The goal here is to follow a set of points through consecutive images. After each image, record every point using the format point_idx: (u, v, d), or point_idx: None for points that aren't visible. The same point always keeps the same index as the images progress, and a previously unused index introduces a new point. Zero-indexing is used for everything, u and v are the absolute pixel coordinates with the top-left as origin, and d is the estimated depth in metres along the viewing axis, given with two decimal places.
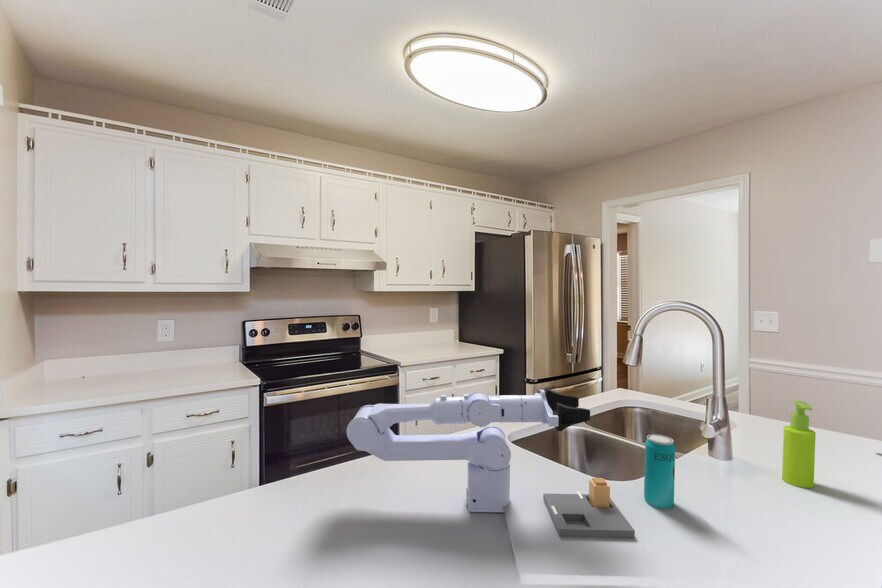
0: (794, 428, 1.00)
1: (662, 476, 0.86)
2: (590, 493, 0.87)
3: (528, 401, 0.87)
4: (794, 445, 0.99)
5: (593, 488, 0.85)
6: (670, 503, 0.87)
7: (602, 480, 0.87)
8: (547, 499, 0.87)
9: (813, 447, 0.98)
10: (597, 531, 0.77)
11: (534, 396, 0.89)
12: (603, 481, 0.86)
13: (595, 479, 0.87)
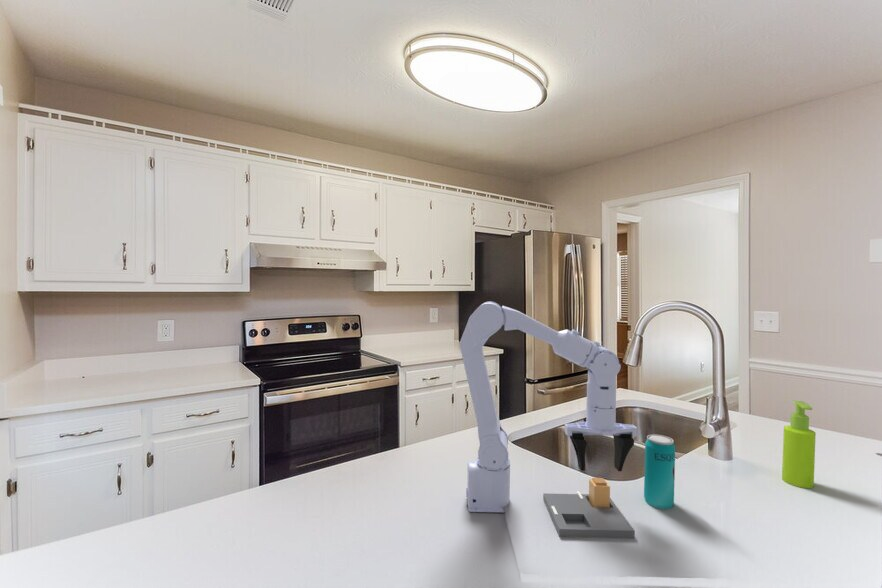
0: (794, 428, 1.00)
1: (662, 476, 0.86)
2: (590, 493, 0.87)
3: (595, 414, 0.84)
4: (794, 445, 0.99)
5: (593, 488, 0.85)
6: (670, 503, 0.87)
7: (602, 480, 0.87)
8: (547, 499, 0.87)
9: (813, 447, 0.98)
10: (597, 531, 0.77)
11: (604, 423, 0.83)
12: (603, 481, 0.86)
13: (595, 479, 0.87)
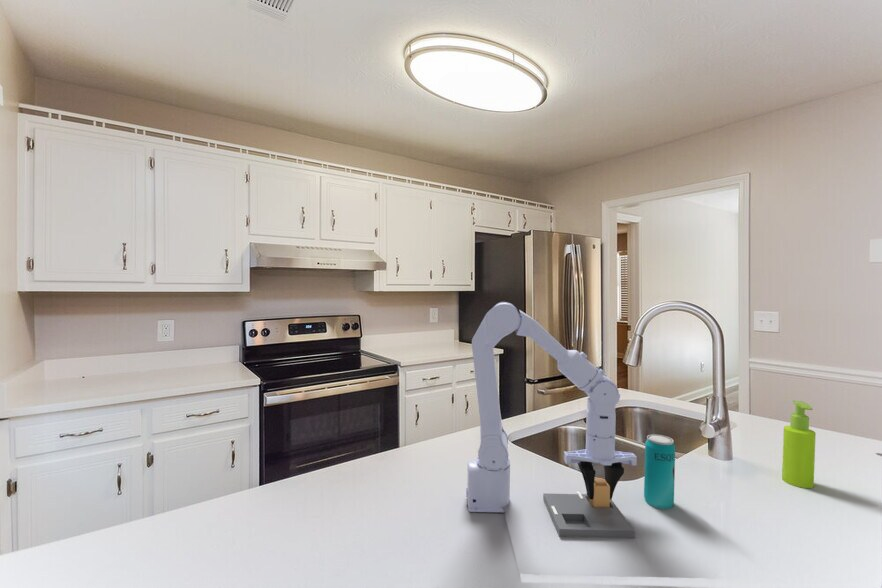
0: (794, 428, 1.00)
1: (662, 476, 0.86)
2: None
3: (595, 443, 0.84)
4: (794, 445, 0.99)
5: None
6: (670, 503, 0.87)
7: (602, 480, 0.87)
8: (547, 499, 0.87)
9: (813, 447, 0.98)
10: (597, 531, 0.77)
11: (603, 452, 0.83)
12: (603, 481, 0.86)
13: (595, 479, 0.87)
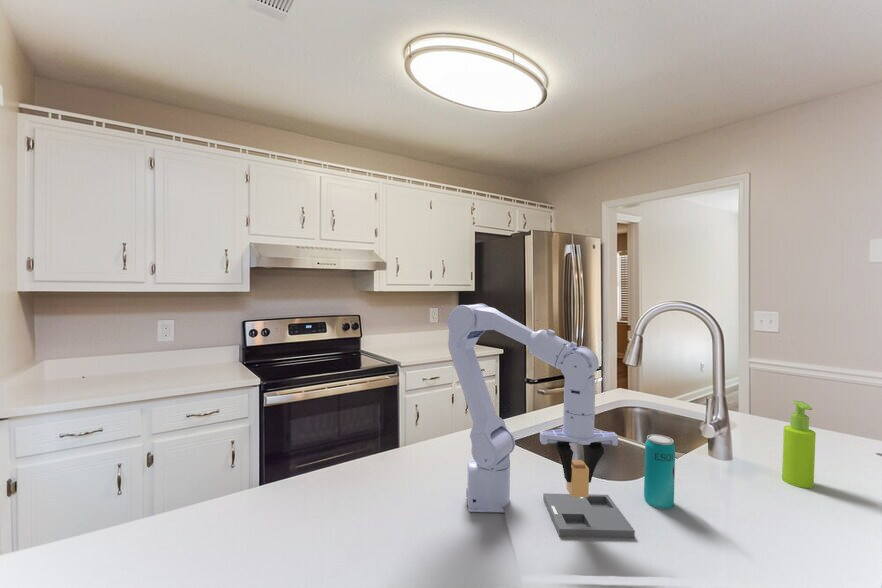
0: (794, 428, 1.00)
1: (662, 476, 0.86)
2: None
3: (572, 421, 0.77)
4: (794, 445, 0.99)
5: (571, 471, 0.79)
6: (670, 503, 0.87)
7: (581, 462, 0.80)
8: (547, 499, 0.87)
9: (813, 447, 0.98)
10: (597, 531, 0.77)
11: (582, 430, 0.77)
12: (582, 463, 0.79)
13: (573, 461, 0.80)
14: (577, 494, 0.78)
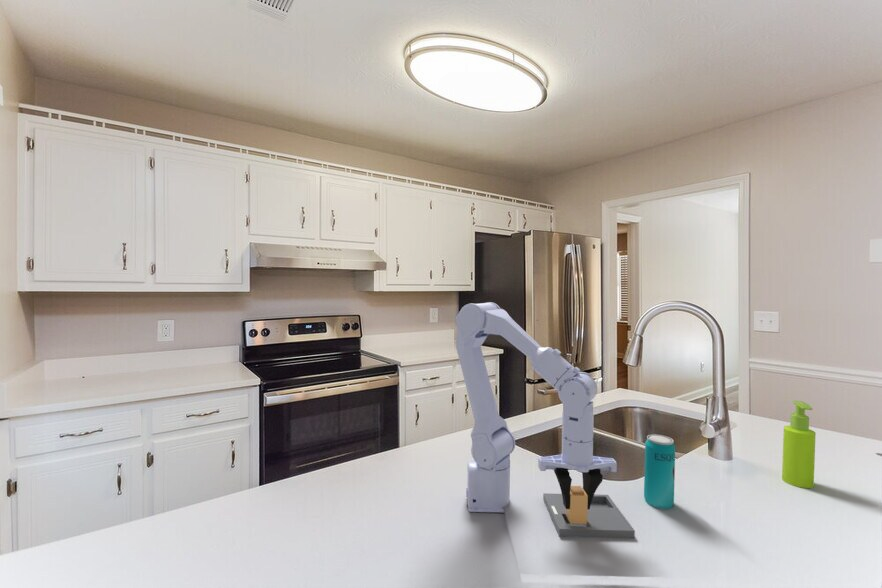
0: (794, 428, 1.00)
1: (662, 476, 0.86)
2: None
3: (571, 448, 0.77)
4: (794, 445, 0.99)
5: None
6: (670, 503, 0.87)
7: (580, 488, 0.80)
8: (547, 499, 0.87)
9: (813, 447, 0.98)
10: (597, 531, 0.77)
11: (580, 458, 0.77)
12: (580, 490, 0.79)
13: (572, 487, 0.80)
14: (576, 521, 0.78)
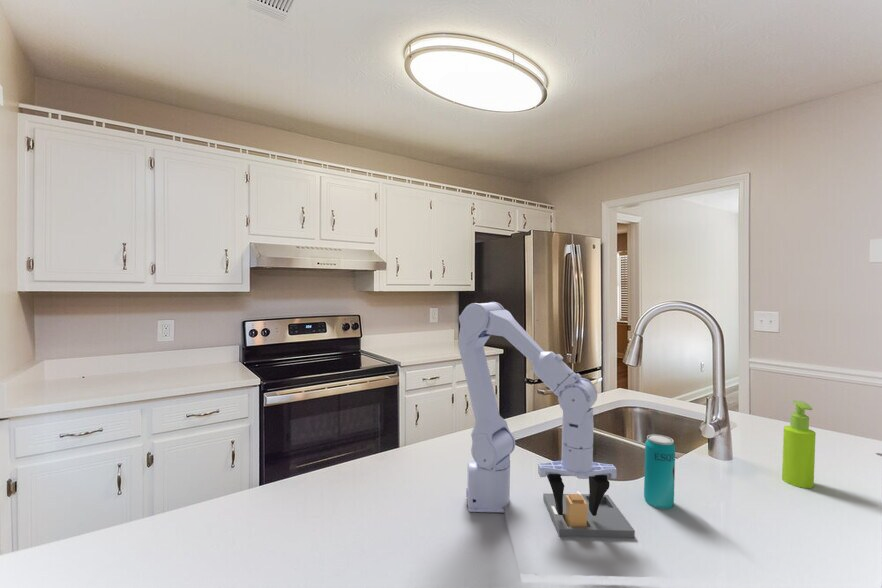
0: (794, 428, 1.00)
1: (662, 476, 0.86)
2: (566, 511, 0.81)
3: (571, 455, 0.77)
4: (794, 445, 0.99)
5: (569, 506, 0.79)
6: (670, 503, 0.87)
7: (580, 496, 0.80)
8: (547, 499, 0.87)
9: (813, 447, 0.98)
10: (597, 531, 0.77)
11: (580, 464, 0.77)
12: (580, 498, 0.79)
13: (572, 496, 0.80)
14: None
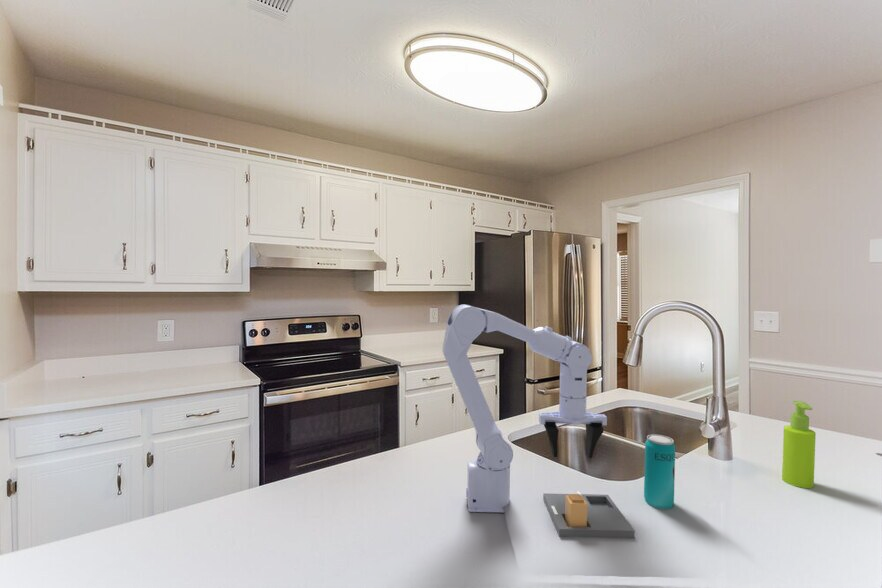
0: (794, 428, 1.00)
1: (662, 476, 0.86)
2: (566, 511, 0.81)
3: (567, 404, 0.89)
4: (794, 445, 0.99)
5: (569, 506, 0.79)
6: (670, 503, 0.87)
7: (580, 496, 0.80)
8: (547, 499, 0.87)
9: (813, 447, 0.98)
10: (597, 531, 0.77)
11: (575, 412, 0.89)
12: (580, 498, 0.79)
13: (572, 496, 0.80)
14: None
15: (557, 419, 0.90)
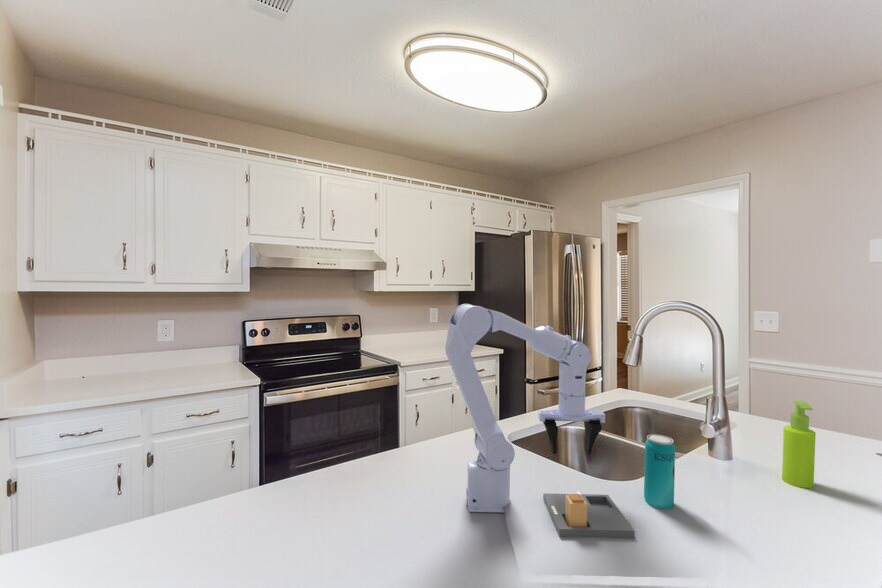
0: (794, 428, 1.00)
1: (662, 476, 0.86)
2: (566, 511, 0.81)
3: (566, 402, 0.91)
4: (794, 445, 0.99)
5: (569, 506, 0.79)
6: (670, 503, 0.87)
7: (580, 496, 0.80)
8: (547, 499, 0.87)
9: (813, 447, 0.98)
10: (597, 531, 0.77)
11: (574, 409, 0.90)
12: (580, 498, 0.79)
13: (572, 496, 0.80)
14: None
15: (557, 417, 0.91)
